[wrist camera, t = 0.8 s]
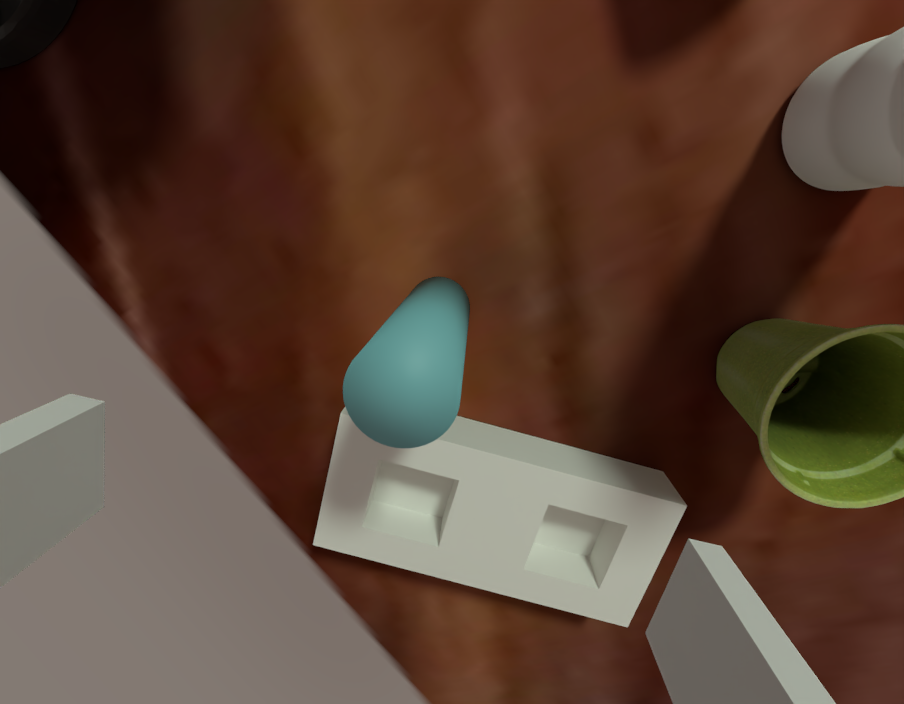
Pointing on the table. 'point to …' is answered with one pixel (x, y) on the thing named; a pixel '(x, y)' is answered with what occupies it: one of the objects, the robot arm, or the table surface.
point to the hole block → (503, 515)
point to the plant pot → (822, 406)
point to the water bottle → (850, 119)
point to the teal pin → (412, 368)
